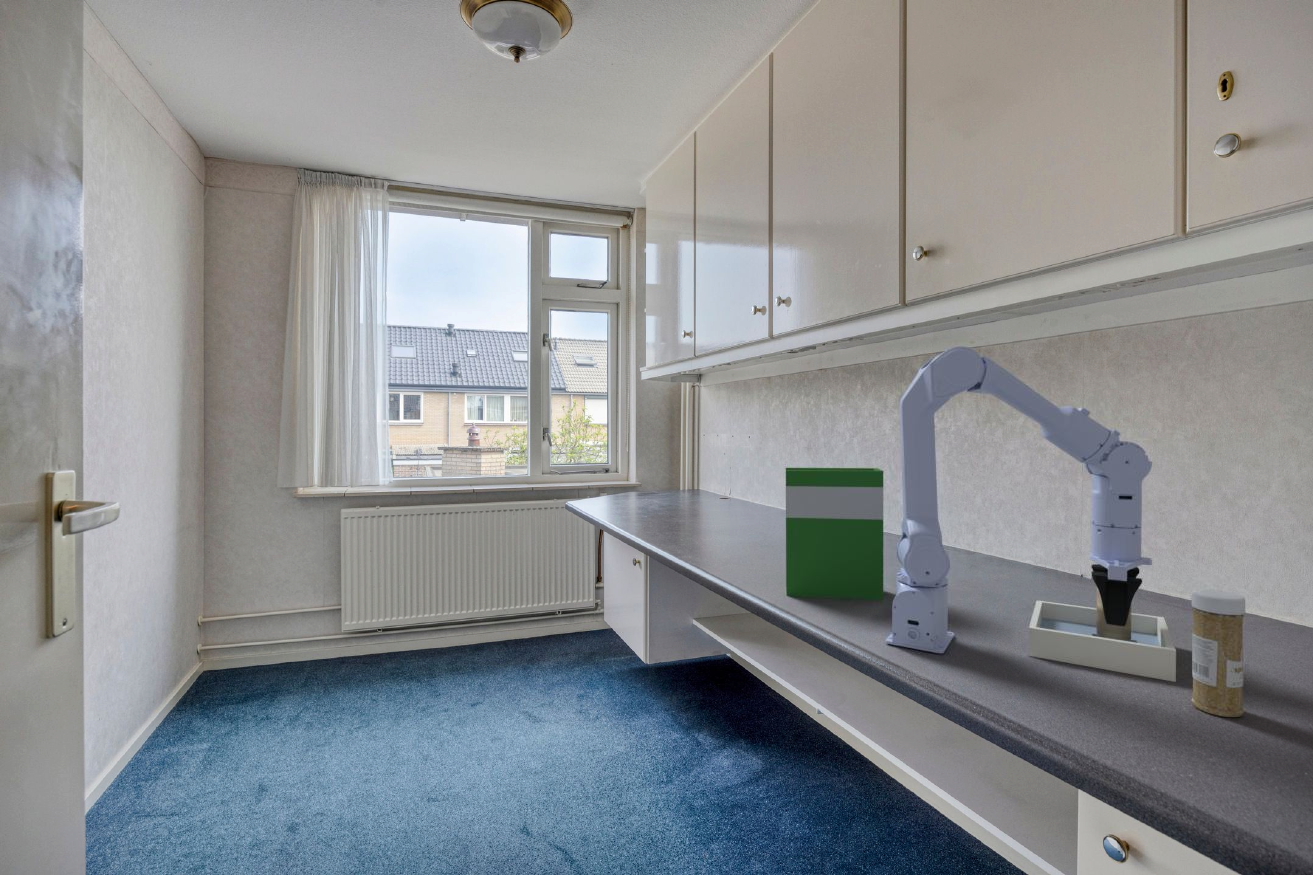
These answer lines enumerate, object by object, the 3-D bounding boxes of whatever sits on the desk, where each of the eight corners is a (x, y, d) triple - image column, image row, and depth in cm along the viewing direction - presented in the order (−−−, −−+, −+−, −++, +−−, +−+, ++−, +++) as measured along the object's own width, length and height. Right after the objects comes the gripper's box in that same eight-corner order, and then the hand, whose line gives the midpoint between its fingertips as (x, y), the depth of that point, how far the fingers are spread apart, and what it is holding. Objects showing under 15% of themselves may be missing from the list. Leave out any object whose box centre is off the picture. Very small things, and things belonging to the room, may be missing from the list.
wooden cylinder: (1130, 642, 86) (1130, 584, 86) (1094, 635, 89) (1094, 579, 88) (1132, 634, 89) (1132, 578, 89) (1098, 628, 92) (1098, 574, 91)
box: (1175, 681, 79) (1176, 650, 79) (1028, 655, 88) (1028, 627, 88) (1163, 644, 92) (1163, 617, 92) (1036, 624, 101) (1036, 600, 101)
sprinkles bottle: (1252, 721, 68) (1254, 600, 68) (1200, 714, 70) (1202, 596, 70) (1231, 703, 73) (1233, 589, 72) (1183, 698, 74) (1184, 585, 74)
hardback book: (786, 595, 119) (785, 470, 119) (786, 585, 127) (785, 467, 126) (883, 599, 116) (883, 471, 115) (877, 589, 123) (877, 468, 123)
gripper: (1156, 535, 80) (1155, 640, 80) (1147, 520, 92) (1147, 611, 92) (1089, 530, 84) (1088, 630, 84) (1089, 516, 96) (1089, 604, 96)
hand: (1115, 620), depth 89 cm, fingers closed on wooden cylinder, 4 cm apart
